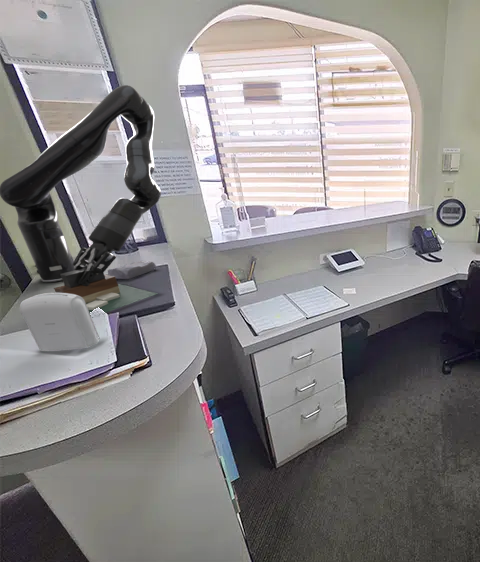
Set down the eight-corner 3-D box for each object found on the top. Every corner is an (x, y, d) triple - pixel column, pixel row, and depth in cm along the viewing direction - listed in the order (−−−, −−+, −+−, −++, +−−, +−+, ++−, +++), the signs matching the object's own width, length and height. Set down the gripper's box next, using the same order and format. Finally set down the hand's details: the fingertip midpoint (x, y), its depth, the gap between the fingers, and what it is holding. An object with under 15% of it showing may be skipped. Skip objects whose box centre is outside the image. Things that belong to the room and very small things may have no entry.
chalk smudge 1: (81, 309, 82) (80, 306, 81) (96, 302, 85) (95, 300, 85) (93, 310, 81) (92, 307, 81) (108, 303, 85) (107, 301, 84)
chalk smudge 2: (96, 299, 87) (95, 297, 87) (112, 294, 91) (111, 292, 90) (104, 302, 86) (103, 299, 85) (120, 296, 89) (119, 294, 89)
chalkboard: (36, 311, 82) (35, 309, 82) (120, 285, 99) (119, 283, 99) (74, 326, 74) (73, 324, 74) (158, 295, 91) (158, 293, 91)
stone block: (107, 284, 105) (129, 280, 102) (101, 271, 104) (123, 266, 101) (139, 274, 116) (160, 270, 113) (134, 261, 115) (154, 257, 112)
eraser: (60, 305, 84) (48, 275, 81) (111, 289, 94) (101, 263, 91) (70, 308, 82) (57, 278, 79) (120, 292, 92) (111, 265, 89)
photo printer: (36, 354, 63) (9, 299, 59) (54, 343, 67) (30, 291, 63) (90, 351, 64) (67, 296, 60) (104, 340, 68) (84, 288, 64)
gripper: (139, 240, 91) (105, 293, 85) (112, 236, 97) (78, 285, 91) (113, 226, 84) (74, 281, 79) (86, 222, 90) (47, 273, 84)
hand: (77, 283), depth 85 cm, fingers closed on eraser, 5 cm apart
